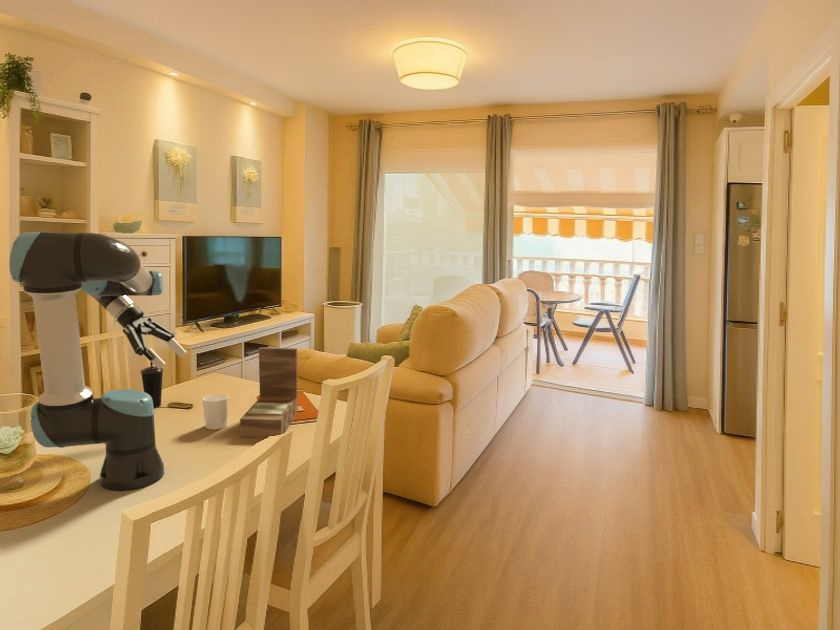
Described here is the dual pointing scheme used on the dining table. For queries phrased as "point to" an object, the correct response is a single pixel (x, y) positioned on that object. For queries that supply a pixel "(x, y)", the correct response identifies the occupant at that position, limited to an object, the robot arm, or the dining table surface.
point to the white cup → (215, 411)
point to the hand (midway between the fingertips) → (173, 360)
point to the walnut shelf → (273, 394)
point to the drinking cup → (153, 383)
